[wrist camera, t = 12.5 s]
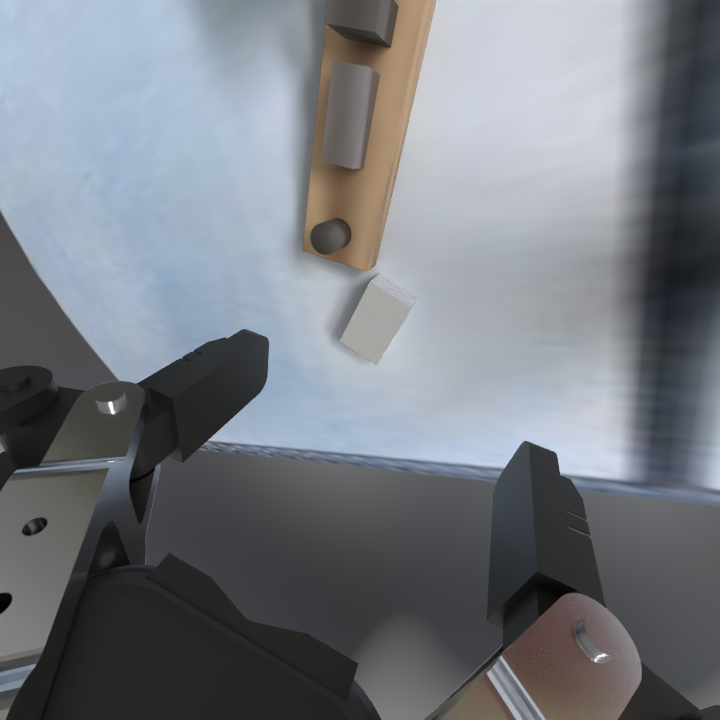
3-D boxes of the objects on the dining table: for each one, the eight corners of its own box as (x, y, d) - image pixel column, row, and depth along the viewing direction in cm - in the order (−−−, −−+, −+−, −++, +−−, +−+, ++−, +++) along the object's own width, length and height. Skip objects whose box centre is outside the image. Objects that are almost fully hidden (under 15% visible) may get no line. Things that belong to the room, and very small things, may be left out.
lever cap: (419, 297, 40) (412, 307, 37) (384, 352, 45) (376, 365, 42) (379, 273, 40) (369, 281, 37) (350, 330, 45) (339, 341, 43)
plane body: (435, 1, 27) (416, -41, 22) (375, 265, 40) (353, 281, 34) (345, -13, 29) (306, -55, 23) (314, 245, 41) (283, 258, 35)
